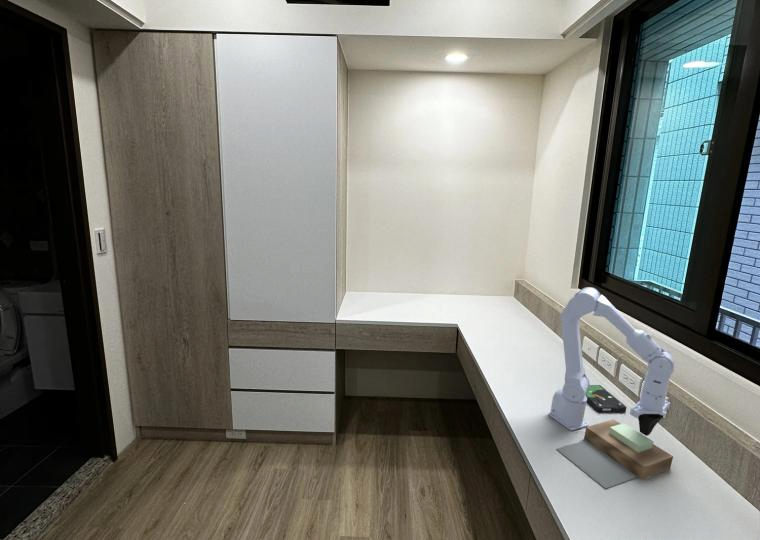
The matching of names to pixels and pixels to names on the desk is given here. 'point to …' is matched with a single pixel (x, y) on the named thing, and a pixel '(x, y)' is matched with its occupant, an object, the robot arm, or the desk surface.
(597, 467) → the mat
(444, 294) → the desk surface
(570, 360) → the robot arm
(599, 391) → the disk drive
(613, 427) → the pale green block
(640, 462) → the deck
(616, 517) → the desk surface
